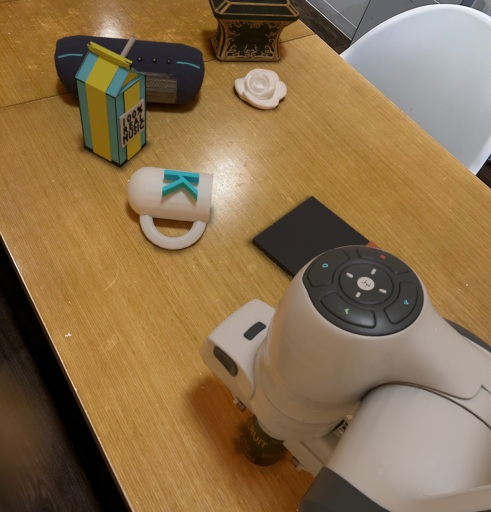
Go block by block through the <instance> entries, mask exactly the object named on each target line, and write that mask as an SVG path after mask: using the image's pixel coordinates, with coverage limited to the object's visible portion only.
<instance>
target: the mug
mask: <svg viewBox="0 0 491 512" xmlns="http://www.w3.org/2000/svg"><path fill="white" fill-rule="evenodd" d="M213 182H214V174H213V173H208V172H207V173H205V172H199V171H198V172H197V171H191V170H182V169H174V168H164V167H156V166H143V167H141V168H139V169H137V170H136V171H134V173H132V175H131V176H130V178H129V180H128V182H127V187H126V198H127V201H128V204H129V206H130V207H131V209H132V211H134V212H135V213H136V214H137V215H139V224H140V227H141V231H142V232H143V234H144V235H145V237H146V238H147V239H148V240H149V241H150V242H151V243H152V244H153V245H156V246H157V247H158V248H159V247H160V249H161V248H162V249H165V250H181V249H185V248H188V247H190V246H192V245H193V244H195V243H196V242H198V240H200V238H202V236H203V233H204V232H205V230H206V227H207V224H208V223H209V220H210V212H211V203H212V195H213V185H214V183H213ZM154 218H155V219H163V220H164V219H165V220H174V221H184V222H193V223H192V226H191V228H190V229H189V231H187V232H186V233H185V234H183V235H180V236H174V237H171V236H167V235H165V234H163V233H161V232H160V231H159V230H158V228H157V227H156V226H155V224H154Z"/></svg>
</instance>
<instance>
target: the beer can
mask: <svg viewBox="0 0 491 512" xmlns="http://www.w3.org/2000/svg"><path fill="white" fill-rule="evenodd" d="M284 441H285V439H284V438H282V437H280V436H278V435H276V434H274V433H273V432H271V431H270V430H269V429H268V428H266V427H265V426H264V425H263V424H262V423H261V421H260V420H259V419H258V418H257V416H256V415H255V413H254V414H253V413H252V412H251V411H250V414H249V415H248V418H247V419H246V422H245V424H244V426H243V428H242V431H241V433H240V437H239V446H240V448H241V452H242V453H243V455H244V457H245V459H247V461H249V462H250V463H251V464H253V465H256V466H257V467H263V468H267V467H272V466H275V465H276V464H277V463H279V462H280V461H281V460H282V459H283V458H284V457H285V455H286V454H287V453H288V452H289V450H288V449H287V448H286V447H285V446H284V445H283V442H284Z"/></svg>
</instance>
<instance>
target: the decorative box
mask: <svg viewBox="0 0 491 512" xmlns="http://www.w3.org/2000/svg"><path fill="white" fill-rule="evenodd" d="M208 3H209V7H210V9H211V12H212V15H213V18H214V19H215V20H216V21H217V26H216V30H215V32H214V33H213V35H212V36H211V39H210V41H211V44H212V47H213V50H214V53H215V57H216V58H217V60H220V61H237V62H238V61H239V62H243V61H249V62H250V61H254V62H255V61H257V62H261V61H262V62H269V61H270V62H278V61H279V60H281V53H280V45H279V44H280V43H279V42H280V37H281V34H282V32H283V31H284V29H285V28H287V27H289V26H290V25H292V24H295V23H296V22H297V21H298V20H299V19H300V15H301V14H300V12H299V10H298V8H297V6H296V4H295V3H294V1H293V0H208Z"/></svg>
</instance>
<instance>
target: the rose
mask: <svg viewBox="0 0 491 512" xmlns="http://www.w3.org/2000/svg"><path fill="white" fill-rule="evenodd" d="M233 83H234V84H233V85H234V89H235V91H236V93H237V95H238V97H239V98H240V99H241V100H243V101H244V102H247V103H248V104H250V105H251V106H252V107H255V108H257V109H260V110H273V109H276V107H277V106H278V105H279V102H280V101H281V100H282V99H283V98H285V96H287V92H288V91H287V86H286V84H285V82H284V81H282V80H280V77H279V75H278V73H277V72H276V71H274V70H270V69H264V68H254V69H252V70H250V71H248V73H246V75H245V76H244V77H240V78H236V79H234V82H233Z"/></svg>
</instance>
